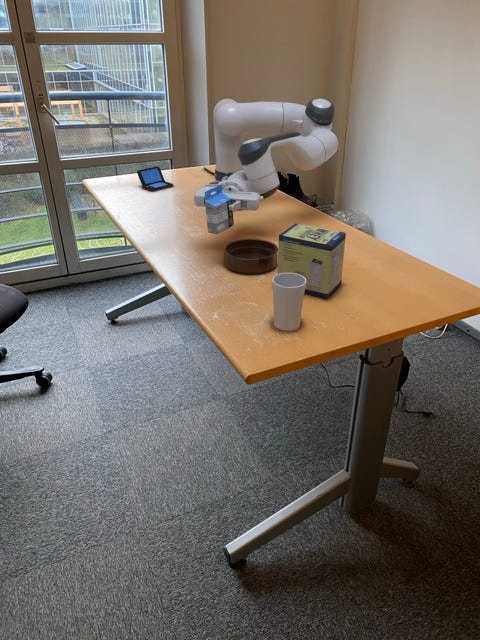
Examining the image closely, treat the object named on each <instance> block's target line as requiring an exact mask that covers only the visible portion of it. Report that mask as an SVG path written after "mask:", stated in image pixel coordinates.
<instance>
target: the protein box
mask: <svg viewBox="0 0 480 640" xmlns="http://www.w3.org/2000/svg"><path fill="white" fill-rule="evenodd" d="M346 238H347V232H344V231H339V230H333V229H328V228H322V227H317V226H312V225H306V224H300V223H296V222H295V223H293V224H292V225H290V226H289V227H288V228H287V229H285V230H283V231H282V232H280V233H279V234H278V246H277V247H278V263H277V274H281V273H296V274H299V275H302V276H303V277H305V278H306V286H305V292H304V295H310V296H312V297H313V296H314V297H317V298H321V299H325V300H327V299H329V298H330V297H331V295H332V294H334V292H335V291H336V290H337V289H338V288H339V287H340V286H341V284H342V279H343V278H342V277H343V267H344V257H345V248H346V247H345V246H346Z"/></svg>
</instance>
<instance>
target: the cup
mask: <svg viewBox="0 0 480 640" xmlns="http://www.w3.org/2000/svg"><path fill="white" fill-rule="evenodd" d="M271 282H272V284H271V285H272V297H273V298H272V300H273V301H272V302H273V303H272V304H273V322H274V323H273V325H274V327H276V328H277V329H279V330H280V331H295V330H297V329H299V327H300V326H301V317H302V309H303V304H304V298H305V297H304V296H305V293H304V292H305V286H306V278H305V277H303V276H302V275H299V274H296V273H281V274H278V273H277V274H276V275H273V277H272V279H271Z"/></svg>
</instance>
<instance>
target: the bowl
mask: <svg viewBox="0 0 480 640" xmlns="http://www.w3.org/2000/svg"><path fill="white" fill-rule="evenodd" d="M223 265H224V266H226V267H227V268H228V269H229V270H231V271H234V272H237V273H240V274H249V275H254V274H261V273H265V272H268V271H270V270H272V269H274V268H276V266H277V267H278V246H277V244H275V243H274V242H271V241H269V240H266V239H261V238H242V239H236V240H233V241H230V242H228V243H227V244H225V246H224V247H223Z"/></svg>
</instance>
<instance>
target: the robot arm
mask: <svg viewBox="0 0 480 640" xmlns="http://www.w3.org/2000/svg"><path fill="white" fill-rule="evenodd" d="M212 115H213V116H212V117H213V135H214V148H215V150H214V151H215V169H214V172H213V171H211V170H209V169H208V168H206V167H203V170H205V171H206V172H208V173H210V174H211V175H214V179H215V180H214V181H211V182H206V183H205V185H204V186H202V187H201V188H199V189H198V190H197V191H196V192H195V193H194V195H193V201H194V205H195V207H202V208H206V207H205V191H208V190H210V189H212V188H214V187H217V186H219V185H222V193H223V194H225V195H227V196H228V197H230V198H231V199H232V204H230V205H229V211H233V212H235V211H236V210H241V211H242V210H245V211H258V210H259V209H260V205H261V204H260V203H261V202H262V201H264V200H265V199H268V198H270V197H271V196H273V195H274V194H276V192H277V190H278V189H279V188H280V185H281V183H280V179H279V175H278V173H277V172H278V171H277V170H276V167H275V164H274V161H273V158H272V152H271V151H272V150H274V149H279V148H280V149H281V150H283V152H284V153H285V154H286V156H287V157H288V159H289V161H290V163H291V164H292V165H293V166H294V167H295V168H296V169H298V170H301V171H305V172H306V171H311V170H314V169H316V168H318V167H320V166H321V165H323V164H325V163H326V162H327V161H328V160H330V159H331V158H332V157H333V156H334V155H335V154H336V152H337V151H338V148H339V139H338V136H337V135H336V134H335V133H334V132H333V131H332V129H333V123H334V118H335V106H334V104H333V103H332V102H331V101H330V100H328V99H327V98H323V97H317V98H316V97H315V98H313V99H311V100H309V101H308V103H307V104H306V106H305V105H304V104H300V103H295V102H287V101H254V102H252V101H251V102H237V101H236V100H234V99H232V98H224V99H221V100H219V101H218V102H217V103H216V104H215V106H214V108H213V113H212ZM254 134H276V135H271V136H267V137H264V138H258V137H257V138H251V139H247V140H246V141H244V136H246V135H248V136H249V135H254ZM215 193H216V191H215V192H214V191H213V192H212V193H211V195H212V194H215Z"/></svg>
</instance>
